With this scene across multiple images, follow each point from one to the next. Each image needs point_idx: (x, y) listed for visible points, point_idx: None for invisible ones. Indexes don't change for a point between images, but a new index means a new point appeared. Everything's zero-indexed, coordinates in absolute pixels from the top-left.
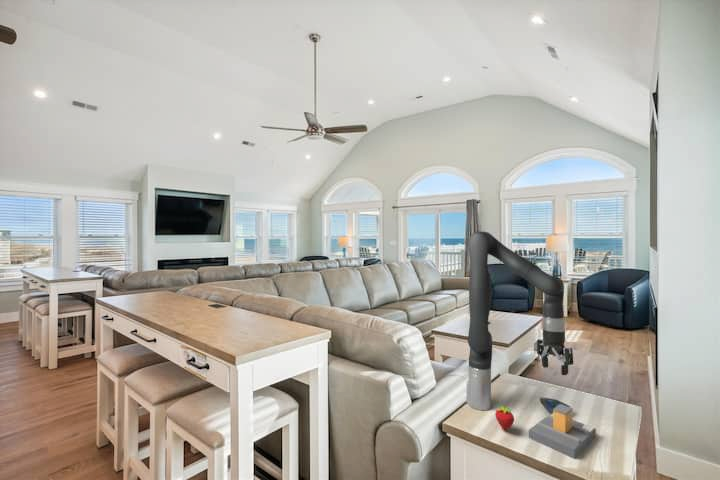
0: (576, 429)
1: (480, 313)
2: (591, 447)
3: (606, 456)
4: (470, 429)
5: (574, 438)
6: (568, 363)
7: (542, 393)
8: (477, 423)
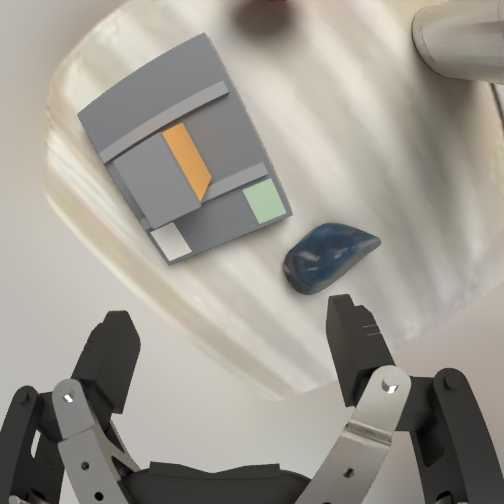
0: None
1: None
2: None
3: (93, 204)
4: None
5: (110, 149)
6: (13, 401)
7: (415, 292)
8: None
